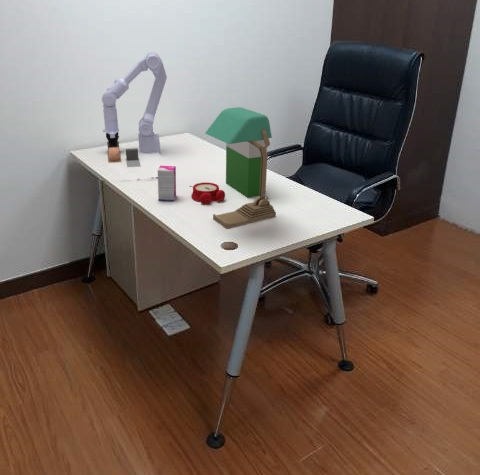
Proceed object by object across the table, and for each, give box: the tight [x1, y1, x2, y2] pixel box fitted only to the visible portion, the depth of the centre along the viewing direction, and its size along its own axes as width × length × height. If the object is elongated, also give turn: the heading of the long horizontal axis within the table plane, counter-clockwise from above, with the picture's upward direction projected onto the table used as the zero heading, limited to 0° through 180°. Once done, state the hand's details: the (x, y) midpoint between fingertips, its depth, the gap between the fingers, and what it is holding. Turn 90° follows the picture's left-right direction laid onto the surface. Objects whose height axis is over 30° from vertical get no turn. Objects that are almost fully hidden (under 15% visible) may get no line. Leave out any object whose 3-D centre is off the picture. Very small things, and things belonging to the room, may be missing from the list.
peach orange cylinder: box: [106, 140, 123, 164], centre depth 217 cm, size 6×18×6 cm, turn 15°
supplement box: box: [157, 165, 177, 202], centre depth 175 cm, size 6×6×12 cm
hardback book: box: [225, 139, 268, 199], centre depth 183 cm, size 18×7×24 cm, turn 28°
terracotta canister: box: [107, 147, 121, 161], centre depth 212 cm, size 4×4×5 cm
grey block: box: [125, 148, 141, 168], centre depth 210 cm, size 6×12×6 cm, turn 15°
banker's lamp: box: [204, 107, 277, 229], centre depth 155 cm, size 16×21×35 cm
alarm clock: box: [189, 182, 226, 205], centre depth 177 cm, size 11×6×15 cm
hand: (113, 149), depth 224 cm, fingers closed on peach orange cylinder, 2 cm apart
